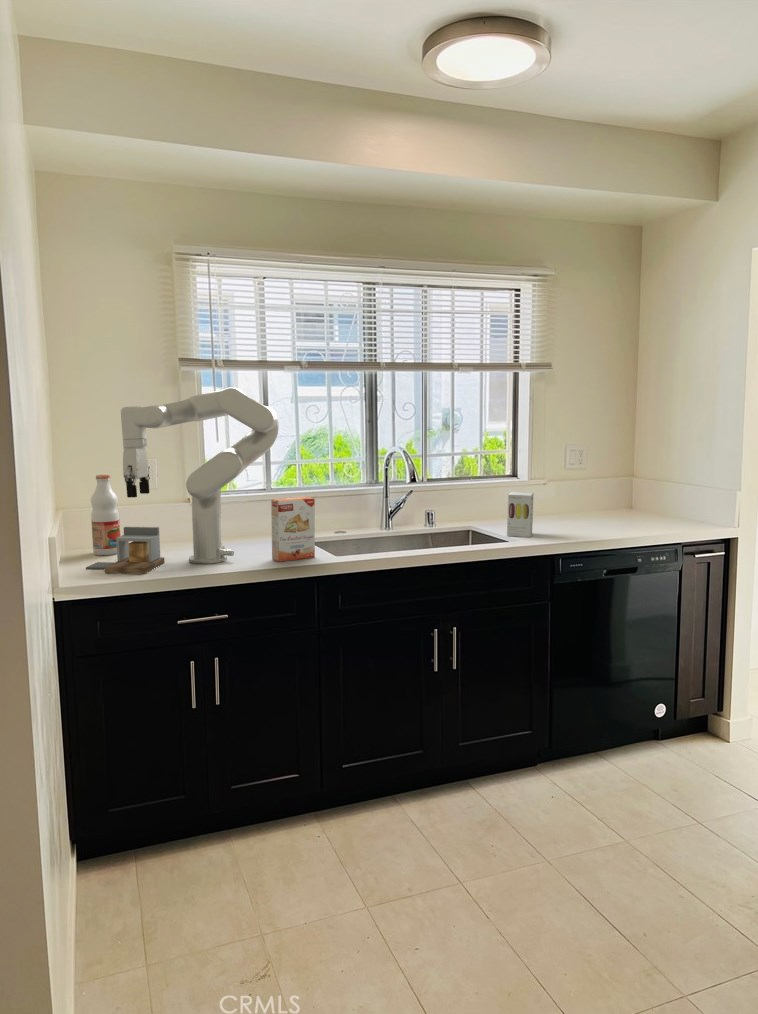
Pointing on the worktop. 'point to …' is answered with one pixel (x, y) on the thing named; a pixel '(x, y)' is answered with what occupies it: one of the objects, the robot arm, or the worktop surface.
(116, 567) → the board
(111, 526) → the fruit juice
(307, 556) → the cracker box
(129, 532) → the cover
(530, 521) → the supplement box
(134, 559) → the block
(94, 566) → the mat
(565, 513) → the worktop surface
